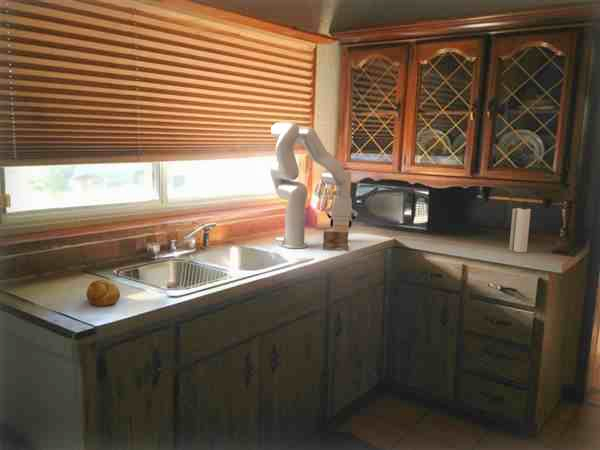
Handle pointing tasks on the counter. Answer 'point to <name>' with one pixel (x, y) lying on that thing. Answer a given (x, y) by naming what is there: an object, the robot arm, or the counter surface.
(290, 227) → the robot arm
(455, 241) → the counter surface
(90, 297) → the bread roll
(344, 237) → the cleat holder
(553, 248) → the counter surface
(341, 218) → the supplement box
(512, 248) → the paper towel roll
